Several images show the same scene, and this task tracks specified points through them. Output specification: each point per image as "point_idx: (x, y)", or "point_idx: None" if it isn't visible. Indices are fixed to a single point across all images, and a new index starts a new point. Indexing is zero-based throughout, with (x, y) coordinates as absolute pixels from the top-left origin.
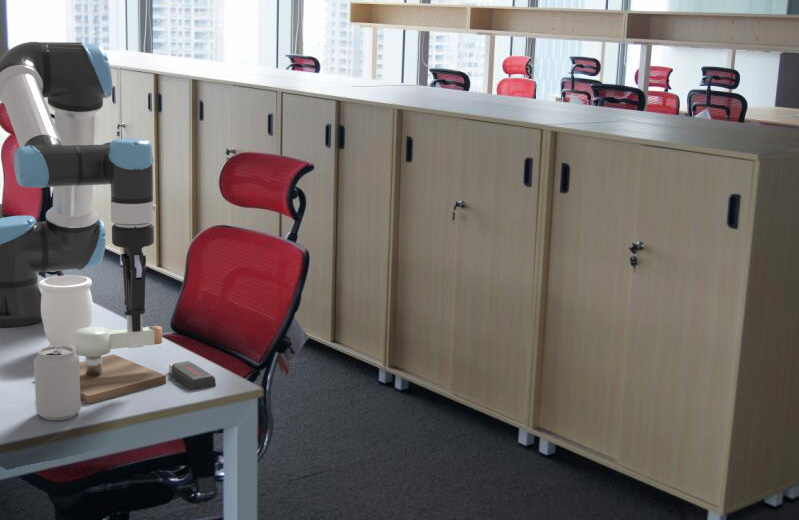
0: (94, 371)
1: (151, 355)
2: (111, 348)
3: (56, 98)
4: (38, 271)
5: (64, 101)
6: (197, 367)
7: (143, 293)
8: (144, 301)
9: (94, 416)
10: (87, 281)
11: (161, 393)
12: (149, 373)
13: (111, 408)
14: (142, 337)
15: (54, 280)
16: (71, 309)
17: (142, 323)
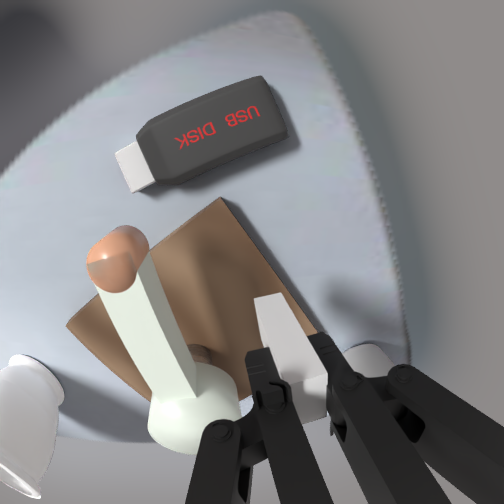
0: (211, 361)
1: (29, 242)
2: (195, 365)
3: None
4: None
5: None
6: (189, 112)
7: (490, 424)
8: (458, 397)
9: (377, 318)
10: None
11: (293, 207)
12: (199, 242)
13: (353, 299)
14: (290, 311)
15: None
16: (34, 442)
17: (309, 343)
